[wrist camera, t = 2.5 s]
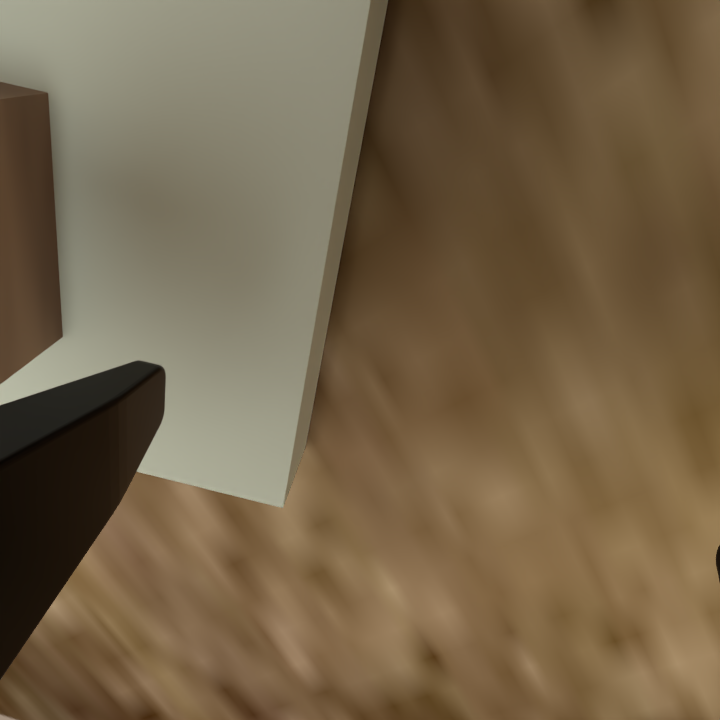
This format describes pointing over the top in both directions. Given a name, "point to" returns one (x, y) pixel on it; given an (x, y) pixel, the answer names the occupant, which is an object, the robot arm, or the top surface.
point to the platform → (200, 209)
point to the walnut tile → (27, 230)
